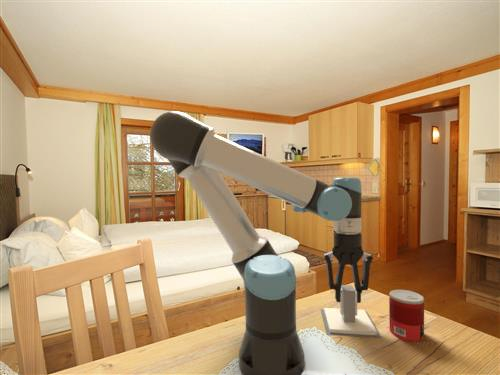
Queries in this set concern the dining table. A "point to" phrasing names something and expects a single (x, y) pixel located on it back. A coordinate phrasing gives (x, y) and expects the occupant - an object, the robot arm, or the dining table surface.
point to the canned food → (406, 315)
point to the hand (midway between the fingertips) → (348, 312)
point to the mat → (349, 334)
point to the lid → (349, 316)
